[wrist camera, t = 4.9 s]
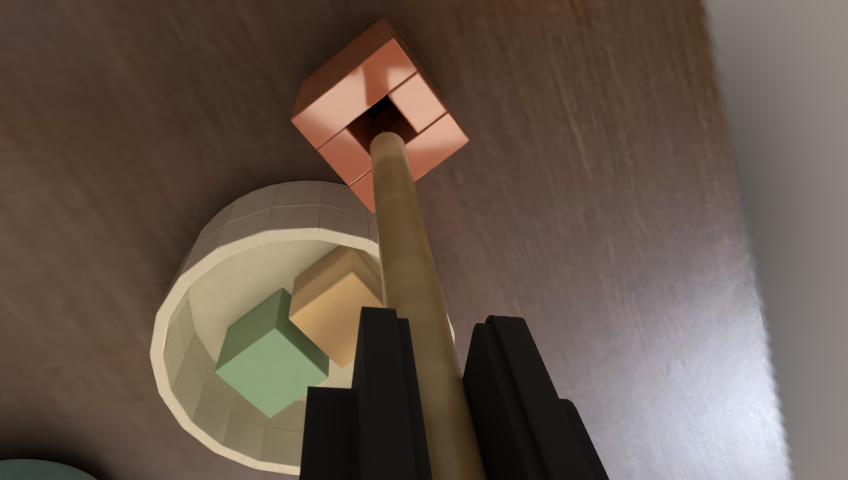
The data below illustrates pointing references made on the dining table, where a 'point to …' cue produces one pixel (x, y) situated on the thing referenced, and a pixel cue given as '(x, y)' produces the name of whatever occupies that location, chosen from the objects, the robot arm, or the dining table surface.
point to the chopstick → (422, 313)
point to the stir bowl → (237, 295)
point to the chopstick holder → (359, 90)
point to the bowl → (39, 470)
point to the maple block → (336, 300)
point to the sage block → (270, 357)
